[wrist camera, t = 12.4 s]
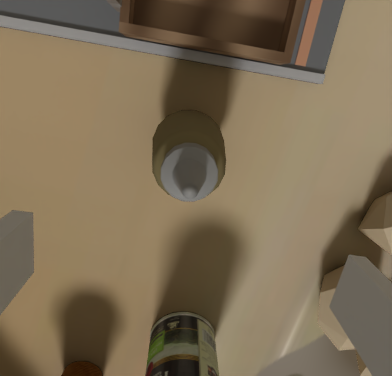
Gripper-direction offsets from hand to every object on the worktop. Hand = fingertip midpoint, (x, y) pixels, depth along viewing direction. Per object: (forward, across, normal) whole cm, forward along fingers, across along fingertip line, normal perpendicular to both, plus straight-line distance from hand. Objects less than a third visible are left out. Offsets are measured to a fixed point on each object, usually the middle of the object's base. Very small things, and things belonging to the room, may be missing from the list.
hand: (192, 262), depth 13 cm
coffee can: (+27, -4, +31) cm, 41 cm away
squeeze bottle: (+27, 0, 0) cm, 27 cm away
